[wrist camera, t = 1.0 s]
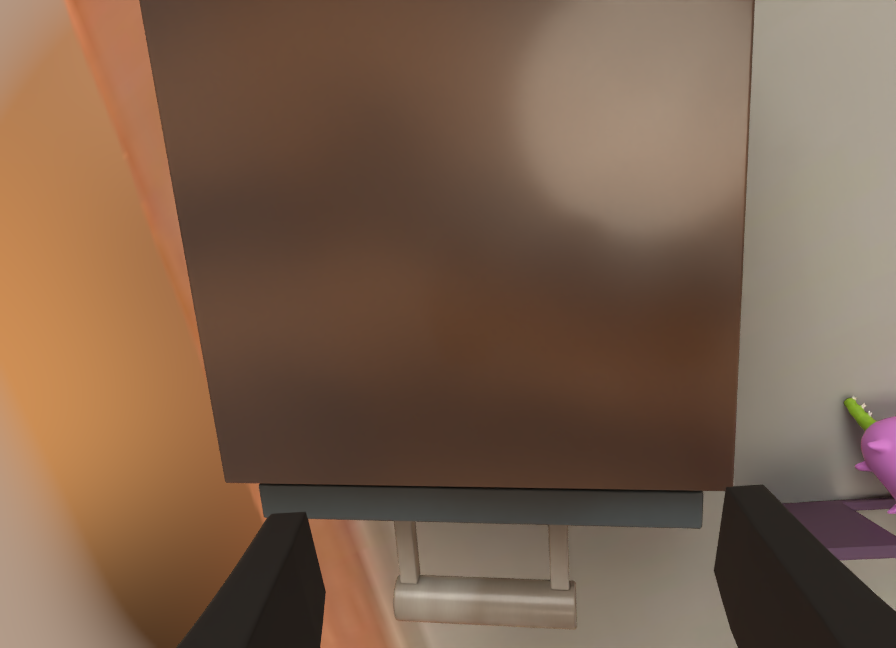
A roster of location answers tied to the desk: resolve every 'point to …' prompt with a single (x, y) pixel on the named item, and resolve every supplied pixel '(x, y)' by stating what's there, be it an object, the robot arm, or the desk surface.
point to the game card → (836, 522)
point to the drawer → (498, 505)
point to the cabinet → (463, 235)
